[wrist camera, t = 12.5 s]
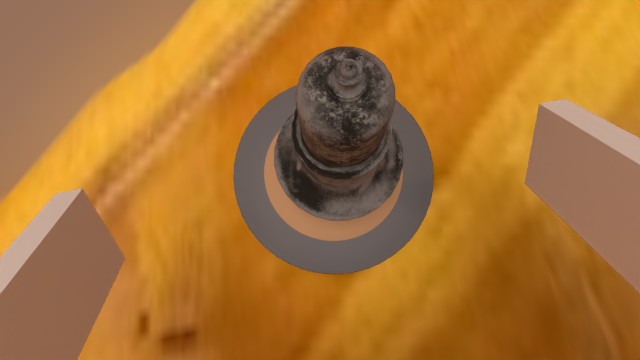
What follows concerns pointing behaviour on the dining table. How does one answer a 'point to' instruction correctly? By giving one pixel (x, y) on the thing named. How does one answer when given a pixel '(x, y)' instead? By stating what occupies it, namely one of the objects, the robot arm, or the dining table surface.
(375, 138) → the salt shaker
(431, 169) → the coaster
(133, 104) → the dining table surface
